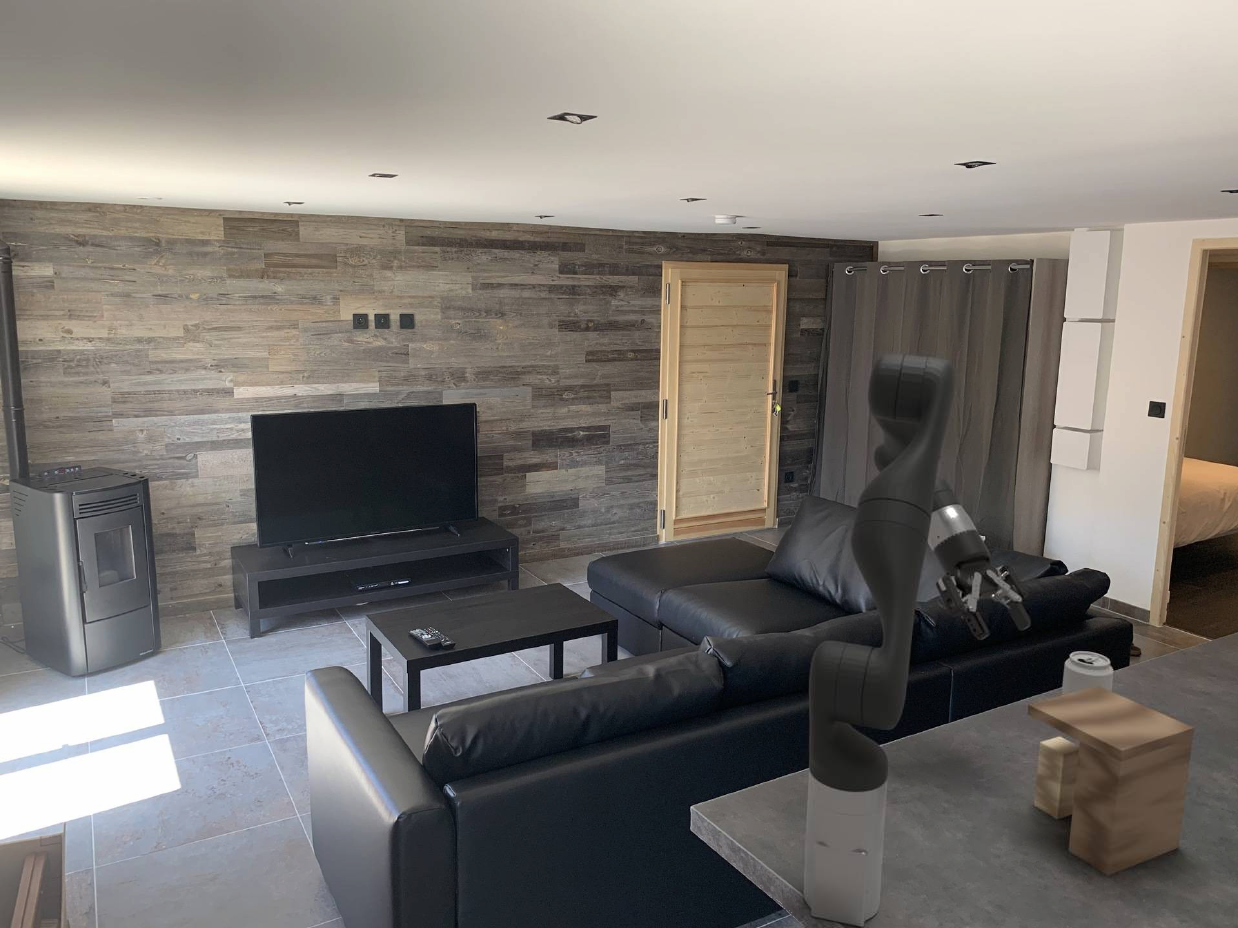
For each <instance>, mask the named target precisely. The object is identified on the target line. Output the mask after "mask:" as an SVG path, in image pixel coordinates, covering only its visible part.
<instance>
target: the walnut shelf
mask: <svg viewBox="0 0 1238 928" xmlns="http://www.w3.org/2000/svg"><path fill="white" fill-rule="evenodd" d="M1027 706H1028V707H1027V715H1028V716H1029V717H1031V718H1034V719H1036V720H1038V721H1040V722H1041V723H1043V724H1045V725H1047V726H1049V727H1051V728H1053V729H1056V730H1057V731H1059V732H1061V733H1063V734H1065V735H1067V736H1070V738H1073V739H1075V740H1077V741H1079V745H1078V746H1079V756H1078V765H1077V775H1076V784H1075V794H1074V803H1073V813H1072V814H1071V815H1072V816H1071V824H1070V835H1069V843H1068V852H1070V853H1071V854H1073V855H1074V856H1076V857H1078V858H1079V859H1081V860H1083V861H1084V862H1086V863H1088V865H1090V866H1092V867H1093V868H1095V869H1097V870H1098V871H1100V872H1101V873H1103V874H1105V875H1106V876H1111V875H1114V874H1115V873H1119V872H1121V871H1123V870H1126V869H1128V868H1130V867H1131V868H1132V867H1133V866H1136V865H1139V864H1141V863H1143V862H1146V861H1149V860H1151V859H1153V858H1156V857H1159V856H1161V855H1163V854H1166V853H1169V852H1171V851H1174V850H1176V849H1179V847H1180V839H1181V833H1182V824H1183V818H1184V816H1183V815H1184V809H1185V803H1186V802H1185V801H1186V794H1187V785H1188V779H1189V771H1190V762H1191V755H1192V748H1193V747H1192V746H1193V741H1194V734H1195V733H1194V731H1195V727H1194V726H1191V725H1189V724H1186V723H1184V722H1182V721H1179V720H1178V719H1175V718H1173V717H1170V716H1168V715H1166V714H1164V713H1162V712H1159V711H1157V710H1154V709H1152V708H1149V707H1148V706H1145V705H1142V704H1141V703H1138V702H1136V701H1134V700H1132V699H1129V698H1128V697H1125V696H1122V695H1119V694H1118V693H1115V692H1113V691H1112V690H1111V691H1109V690H1106V689H1104V688H1102V687H1100V686H1095V687H1091V688H1088V689H1084V690H1080V691H1077V692H1073V693H1069V694H1065V695H1062V694H1061V695H1058V696H1055V697H1051V698H1047V699H1044V700H1040V701H1036V702H1033V703H1029V704H1028V705H1027Z"/></svg>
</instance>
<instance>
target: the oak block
mask: <svg viewBox="0 0 1238 928" xmlns="http://www.w3.org/2000/svg"><path fill="white" fill-rule="evenodd" d="M1039 742H1040V743H1039V752H1038V762H1037V771H1036V772H1037V773H1036V781H1035V782H1036V783H1035V793H1034V794H1035V795H1034V802H1033V803H1034V805H1033V806H1035V807H1036V808H1037V809H1039V810H1041V811H1043V812H1044V813H1046V814H1047V815H1049V816H1051V817H1052V818H1054V819H1056V820H1059V819H1062V818H1066V817H1068V816H1071V815H1072V813H1073V803H1074V794H1075V784H1076V775H1077V765H1078V756H1079V746H1080V745H1077V744H1075V743H1073V742H1071V741H1069V740H1067V739H1065V738H1063V737H1062V736H1056V737H1052V738H1051V739H1050V738H1049V739H1046V740H1043V741H1039Z"/></svg>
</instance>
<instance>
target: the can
mask: <svg viewBox="0 0 1238 928" xmlns="http://www.w3.org/2000/svg"><path fill="white" fill-rule="evenodd" d="M1113 680H1114V669H1113V667H1112V666H1111V661H1110V658H1108V657H1107V656H1104V655H1103V654H1099V653H1096V652H1093V651H1092V652H1091V651H1081V650H1080V651H1079V650H1078V651H1073V652H1072V653H1070V654H1069V658H1068V659H1066V661H1064V668H1063V678H1062V688H1061V696H1062V695H1065V694H1069V693H1073V692H1077V691H1080V690H1084V689H1088V688H1091V687H1095V686H1100V687H1102V688H1104V689H1106V690H1109V691H1111V692H1112V690H1113V689H1112V688H1113Z"/></svg>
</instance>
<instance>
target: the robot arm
mask: <svg viewBox="0 0 1238 928" xmlns="http://www.w3.org/2000/svg"><path fill="white" fill-rule="evenodd" d="M870 372H871V373H870V376H869V382H868V389H867V390H868V391H867V402H868V409H869V411H870V414H871V416H872V418H873V419H874V420H875V422H876V424H877V425H878V427H880V428H881V430H882V431H883V432H882V433H883V441H884V442H882V443H880V444H879V445H877V446H876V448H875V449H874V453H873V462H874V464H875V467H876V469H877V470H878V472H879V473H878V474H877V475H876V476H875V477H874V478H873V479H872V480H871V481H870V482H869V483H868V484H867V485H866V487H865V488H864V490H863V491H862V493H861V494H860V496H859V498H858V502H857V507H856V512H855V517H854V521H853V526H852V531H851V537H850V547H851V552H852V556H853V558H854V561H855V564H856V565H857V567H858V570H859V572H860V573H861V576H862V578H863V580H864V582H865V584H866V586H867V588H868V590H869V592H870V595H871V597H872V599H873V602H874V604H875V608H876V610H877V613H878V616H879V619H880V622H881V626H882V627H881V628H882V635H883V636H882V637H883V638H882V639H883V640H882V645H881V647H874V646H868V645H863V644H855V643H851V642H849V643H848V642H843V641H836V640H825V641H822V642H821V643H819V645H818V646H817V648H815V650H814V653H813V656H812V658H811V662H810V667H809V679H808V703H809V704H808V706H809V711H808V712H809V740H808V744H809V745H808V751H809V753H808V754H809V761H808V783H807V784H808V787H807V806H806V826H805V827H806V829H805V848H804V850H805V851H804V872H803V873H804V875H803V898H804V900H805V903H806V905H807V906H808V907H809V908H810V910H811V911H810V913H811V914H810V915H811V916H812V917H814V918H818V919H823V920H829V921H833V922H839V923H843V924H846V925H852V926H857V927H864V926H865V923H866V921H867V920H869V919H871V918H873V917H874V916H875V915H876V914H877V913H878V911H879V909H880V903H881V901H880V900H881V888H882V887H881V886H882V871H883V870H882V868H883V853H884V852H883V851H884V838H885V823H886V822H885V820H886V819H885V818H886V802H887V793H888V792H887V791H888V789H887V788H888V777H889V776H888V772H889V758H888V755H887V753H886V751H885V750H884V749H883V747H881V745H880V744H878V743H877V742H876V741H874V740H873V739H871V738H869V737H868V736H866V735H864V734H863V733H861V732H860V731H858V730H857V729H855V728H854V727H853V726H852V725H854V726H860V727H866V728H871V729H876V730H882V731H883V730H884V731H889V730H893V729H894V728H895V727H896V726H897V725H898V723H899V722H900V719H901V717H902V714H903V710H904V706H905V702H906V697H907V695H906V694H907V685H908V678H909V668H910V661H911V660H910V658H911V647H912V640H913V638H912V636H913V629H914V620H915V612H916V604H917V597H918V592H919V587H920V584H921V583H920V582H921V577H922V572H923V566H924V561H925V557H926V553H927V551H926V550H927V546H928V545H929V547H930V549H931V551H932V553H933V554H934V556H935V559H936V561H937V562H938V564H939V566H940V568H941V570H942V571H943V573H944V575H943V576H942V577H941V578H939V579H938V580H937V581H936V582H935V586H936V589H937V590H938V593H939V595H940V597H941V599H942V601H943V604H944V606H945V607H946V609H947V612H948V614H949V616H951V618H952V617H953V618H954V617H956V616H957V617H961V619H963V620H965V622H966V624H967V626H968V627H969V629H970V631H971V633H972V635H973V636H974V637H976V639H977V640H978V641H981V640H984V639H986V638H987V637H988V636H990V631H989V629H988V627H987V624H986V623H985V621H984V620H983V618H982V616H981V613H980V612H979V611H977V605H978V603H977V602H978V601H980V599H983V600H985V599H986V600H987V599H991V600H992V601H994V602H999V603H1000V604H1002V605H1003V606H1004V607H1006V608H1007V611H1008V613H1009V615H1010V616H1011V618H1012V620H1013V622H1014V624H1015V626H1016V627H1017V629H1018V630H1019V631H1024V630H1026V629H1028V628H1030V627H1031V625H1032V623H1031V617H1030V616H1029V614H1028V613H1027V611H1026V609H1025V607H1024V605H1023V603H1022V601H1023V600H1024V599H1025V598H1027V597H1028V595H1029V592H1028V591H1027V589H1026V587H1025V585H1023V583H1022V582H1021V580H1020V578H1019V576H1018V575H1017V573H1016V572H1015V570H1014V568H1013V567H1012V566H1011V564H1010V563H1007V562H1005V563H1004V564H1003V565H1001V566H998V567H995V565H993V564H992V563H991V561H990V556H991V553H990V551H989V548H988V547H987V545H986V543H985V541H984V540H983V539H982V537H981V535H980V534H979V532H978V530H977V528H976V525H975V524H974V523H973V521H972V519H971V518H970V516H969V515H968V513H967V512H966V511H965V510H964V508H963V507H962V506H963V505H961V503H960V502H959V501H960V500H959V499H958V498H957V496H956V495H955V493H954V490H953V489H952V487H951V485H950V484H949V482H948V481H947V480H946V479H945V478H943V477H937V475H938V469H939V464H940V463H939V462H940V460H941V457H942V454H941V453H942V448H943V445H944V439H945V437H946V436H945V435H946V431H947V427H948V423H949V418H950V414H951V409H952V405H953V400H954V395H955V388H956V371H955V368H954V365H953V364H952V362H951V361H949V360H947V359H944V358H939V357H932V356H922V355H915V354H914V355H912V354H904V353H886V354H885V353H884V354H882V355H880V356H879V357H878V358H877V359H876V360H875V362H874V364H873V366H872V369H871V371H870ZM1014 587H1015V588H1014ZM1016 590H1017V592H1016ZM1006 596H1007V597H1006Z"/></svg>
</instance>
